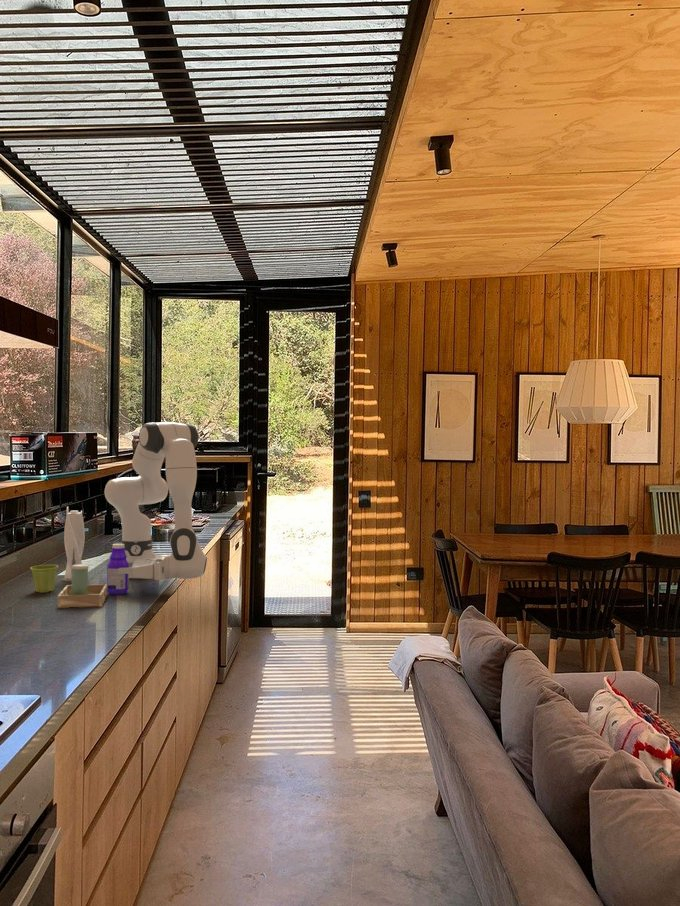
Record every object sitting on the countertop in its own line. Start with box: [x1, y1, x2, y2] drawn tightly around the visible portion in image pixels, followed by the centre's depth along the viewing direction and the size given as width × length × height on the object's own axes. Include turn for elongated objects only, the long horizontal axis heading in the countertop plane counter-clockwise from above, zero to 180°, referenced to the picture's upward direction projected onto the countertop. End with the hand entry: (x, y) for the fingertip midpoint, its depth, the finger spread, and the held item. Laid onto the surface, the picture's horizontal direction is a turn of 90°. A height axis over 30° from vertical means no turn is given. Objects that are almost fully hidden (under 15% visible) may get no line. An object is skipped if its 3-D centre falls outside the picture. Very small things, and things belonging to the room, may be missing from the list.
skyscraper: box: [60, 506, 86, 582], centre depth 299 cm, size 8×8×28 cm
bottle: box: [106, 543, 130, 595], centre depth 274 cm, size 7×6×17 cm
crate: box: [57, 583, 109, 609], centre depth 261 cm, size 18×14×4 cm
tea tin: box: [70, 563, 90, 595], centre depth 257 cm, size 5×5×12 cm
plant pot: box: [29, 564, 59, 594], centre depth 278 cm, size 9×9×9 cm
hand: (119, 567), depth 275 cm, fingers open, 8 cm apart
